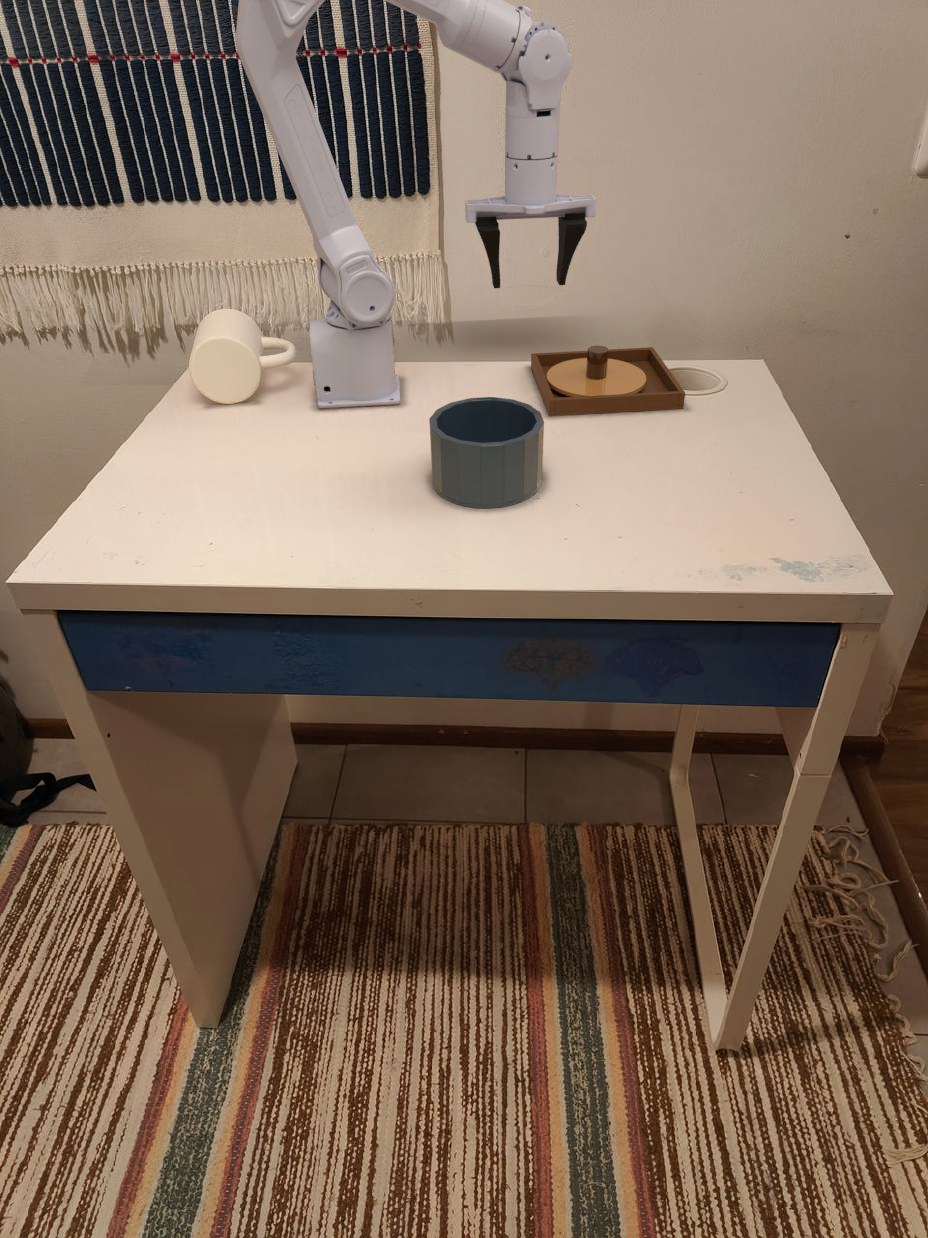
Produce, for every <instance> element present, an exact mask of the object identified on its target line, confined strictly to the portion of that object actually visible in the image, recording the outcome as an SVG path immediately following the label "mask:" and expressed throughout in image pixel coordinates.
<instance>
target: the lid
mask: <svg viewBox="0 0 928 1238" xmlns="http://www.w3.org/2000/svg"><path fill="white" fill-rule="evenodd" d="M586 351H587V358H579V359H573V360H568V361H564V362H561V363H559V364H556V365H555V366H553V367H552V368H550V369H549V371H548V372H547V376H546V379H547V382H548V384H549V386H550V387H551V388H552V389H554V390H555V391H557V392H559V393H561V394H564V395H567V396H570V397H581V396H599V395H618V394H635V393H637V392H639V391H641V390H642V389H643V388H644V386H645V385H646V375H645V373H644V372H643V371H642V370H641V369H640V368H638V367H637V366H634V365H632V364H630V363H627V362H624V361H619V360H614V359H608V352H609V348H608V347H607V346H604V345H590V346H588V348H587V350H586Z"/></svg>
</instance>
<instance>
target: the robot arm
mask: <svg viewBox="0 0 928 1238" xmlns="http://www.w3.org/2000/svg"><path fill="white" fill-rule="evenodd" d="M325 1H326V0H238V4H237V5H238V6H237V17H236V28H235V29H236V30H235V48H236V52H237V55H238V57H239V60H240V62H241V65H242V67H243V69H244V72H245V75H246V76H247V80H248V81H249V84H250V87H251V89H252V91H253V94H254V96H255V99H256V102H257V103H258V106H259V108H260V111H261V114H262V116H263V118H264V121H265V123H266V126H267V128H268V130H269V133H270V135H271V138H272V140H273V143H274V145H275V148H276V150H277V152H278V155H279V157H280V160H281V162H282V165H283V168H284V170H285V172H286V175H287V177H288V179H289V182H290V183H291V184H290V185H291V186H292V189H293V192H294V194H295V196H296V198H297V201H298V204H299V206H300V208H301V212H302V213H303V216H304V218H305V220H306V223H307V226H308V228H309V230H310V233H311V235H312V236H311V237H312V245H313V249H314V251H315V254H316V257H317V261H318V272H317V275H318V282H319V285H320V288H321V290H322V292H323V293H324V294H325V295H326V297H327V298H328V299H330V302H329V304H328V307H327V309H326V312H325V317H323V318H319V319H312V320H310V321H309V344H310V345H309V346H310V353H311V362H312V369H313V370H312V377H313V384H314V386H315V392H316V399H317V407H318V408H319V409H331V408H349V407H367V406H369V407H370V406H384V405H398V404H401V388H400V385H401V384H400V375H399V374H396V366H395V364H396V363H395V353H394V351H395V350H394V339H393V338H394V337H393V325H392V312H391V311H392V309H393V307H394V304H395V300H396V289H395V285H394V281H393V279H392V278H391V276H390V275H389V274H388V273H387V272H386V271H385V270H384V269H383V268H382V267H381V266H380V264H378V262H377V261H376V258H375V256H374V254H373V250H372V248H371V247H370V245H369V243H368V242H367V239H366V238H365V236H364V234H363V232H362V230H361V229H360V227H359V225H358V222H357V219H356V217H355V214H354V211H353V208H352V206H351V204H350V200H349V198H348V196H347V192H346V190H345V187H344V184H343V182H342V179H341V177H340V174H339V170H338V168H337V166H336V163H335V160H334V157H333V155H332V153H331V150H330V146H329V145H328V142H327V139H326V136H325V134H324V133H325V132H324V131H323V128H322V125H321V123H320V120H319V117H318V114H317V112H316V109H315V107H314V104H313V101H312V98H311V96H310V93H309V89H308V88H307V85H306V83H305V80H304V77H303V74H302V71H301V69H300V67H299V64H298V61H297V58H296V55H297V54H296V53H297V51H298V48H299V45H300V43H301V40H302V38H303V36H304V33H305V31H306V28H307V25H308V23H309V20H310V19H311V17H312V16H313V15H314V14H315V13H316V11H317V10H318V9H319V8H320V7H321V6H322V5H323V3H324V2H325ZM384 1H385V2H386V3H389V4H391V5H393V6H395V7H398V8H399V9H401V10H404V11H406V12H408V13H410V14H412V15H415V16H417V17H418V18H421V19H423V20H425V21H428V22H429V23H431V24H433V25H434V26H435V29H436V31H437V34H438V37H439V40H440V42H441V44H442V45H443V47H445V48H447V50H451V51H452V52H454V53H456V54H459V55H460V56H463V57H464V58H466V59H468V60H471V61H472V62H475V63H476V64H478V65H480V66H482V67H483V68H486V69H488V70H490V71H491V72H494V73H497V74H499V75H500V77H501V78H502V79H503V81H504V82H505V131H504V132H505V135H504V136H505V139H504V140H505V143H504V144H505V145H504V152H505V156H504V195H502V196H496V197H486V198H481V199H468V200H467V199H466V200H464V202H465V203H464V211H465V213H464V214H465V217H464V218H465V221H466V223H468V224H469V223H470V224H471V223H474V225H475V227H476V230H477V232H478V234H479V237H480V239H481V241H482V244H483V247H484V250H485V252H486V256H487V259H488V263H489V267H490V274H491V280H492V281H491V284H492V286H493V289H500V288H501V270H500V244H501V230H500V228H499V225H500V224H499V222H498V221H501V220H502V221H503V220H504V221H505V220H525V219H545V218H546V219H551V218H557V220H558V224H557V225H558V251H557V261H556V277H555V278H556V282H557V284H558V286H565V285H566V282H567V277H568V272H569V270H570V266H571V262H572V259H573V256H574V254H575V252H576V250H577V248H578V246H579V243H580V241H581V239H582V238H583V236H584V234H585V233H586V230H587V227H588V221H587V220H586V218H595V217H596V211H597V210H596V209H597V198H596V197H595V196H594V195H593V194H557V188H558V187H557V184H558V166H559V165H558V163H559V161H558V160H559V139H560V138H559V136H560V112H561V94H562V88H563V85H564V83H565V81H566V80H567V78H568V76H569V74H570V72H571V69H572V66H573V61H574V55H573V54H571V53H570V47H569V43H568V39H567V37H565V35H564V34H565V33H564V31H563V30H562V29H561V28H560V27H559V26H557V25H556V24H554V23H551V22H546V21H544V22H543V21H537V20H536V21H535V20H533V19H532V17H531V14H532V9H531V8H529V7H527V6H526V5H524V4H519V5H518V6H515V5H513V4H511V3H510V2H507V1H506V0H384Z"/></svg>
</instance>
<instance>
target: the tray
mask: <svg viewBox="0 0 928 1238" xmlns="http://www.w3.org/2000/svg"><path fill="white" fill-rule="evenodd" d="M608 349H609V348H608ZM587 351H588V350H571V351H554V352H552V351H551V352H535V353H534V352H533V353H531V354H530V355H531V356H530V369H531V372H532V375H533V377H534V380H535V382H536V385H537V388H538V391H539V393H540V396H541V399H542V401H543V404H544V406H545V410H546V412H547V414H548V417H559V416H561V417H562V416H577V415H578V416H579V415H595V414H597V415H598V414H612V413H613V414H614V413H630V412H631V413H633V412H649V411H666V410H667V411H668V410H669V411H670V410H684V405H685V399H686V391H685V390H684V389H683V387H682V386H681V385H680V383H679V382H678V380H677V378H675V376H674V375H673V373H672V372H671V371H670V369H669V368H668V366H667V365H666V363H665V362H664V360H663V359H662V358H661V357H660V355H659V353H658V352H657V351H656V349H655V348H654V346H650V347H649V346H648V347H647V346H646V347H631V348H629V347H628V348H612V349H611V348H610V349H609V352H608V359H614V360H619V361H624V362H627V363H630V364H632V365H634V366H637V367H638V368H640V369H641V370H642V371H643V372H644V373H645V375H646V385H645V386H644V388H643V389H642V390H641V391H639V392H637V393H635V394H618V395H599V396H581V397H570V396H567V395H564V394H561V393H559V392H557V391H555V390H554V389H552V388H551V387H550V386H549V384H548V382H547V379H546V376H547V372H548V371H549V369H550V368H552V367H553V366H555V365H556V364H559V363H561V362H564V361H568V360H573V359H579V358H587Z"/></svg>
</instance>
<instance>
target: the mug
mask: <svg viewBox="0 0 928 1238" xmlns="http://www.w3.org/2000/svg"><path fill="white" fill-rule="evenodd" d="M267 350H268V351H269V350H282V351H284V352H280V353H276V354H270V355H264V351H267ZM296 358H297V349H296V346H295V344H294V343H292V342H291V341H288V340H287V339H283V338H279V337H271V336H263V333H262V331H261V329H260V327H259V325H258V324H257V323H256V321H255V320H254V319H253V318H252V317H250V316H249V315H247V313H244V312H242V311H240V310H237V309H233V308H219V309H216V310H214V311H211V312H209V313H208V314H206V315H205V316H204V317H203V318H202V320H201V321H200V322H199V324H198V327H197V329H196V333H195V337H194V341H193V344H192V349H191V353H190V356H189V360H188V372H189V377H190V379H191V382H192V383H193V386H194V387H195V388H196V389H197V390H198V392H199V393H200V394H202V395H203V396H204V397H205V398H207V399H208V400H210V401H213V402H216V403H219V404H224V405H233V404H239V403H241V402H244V401H246V400H248V399H249V398H251V396H253V395H254V394H255V392H256V391H257V390H258V388H259V386H260V383H261V380H262V372H263V371H264V370H271V369H272V370H273V369H276V368H277V369H278V368H281V367H284V366H287V365H289V364H291V363H293V362H294V361H295V360H296Z"/></svg>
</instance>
